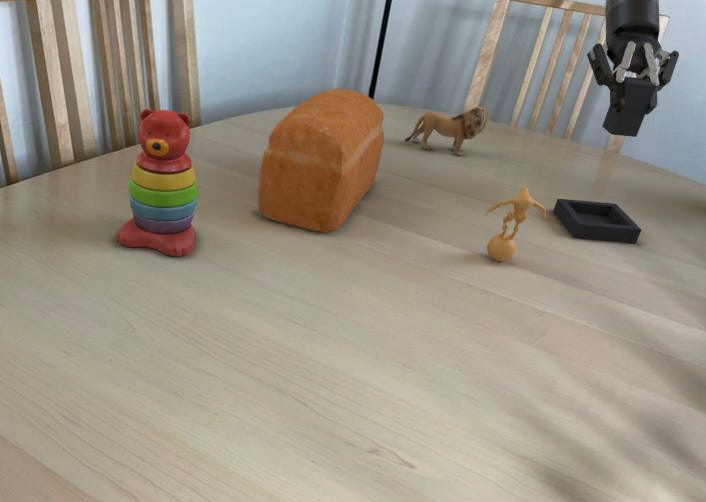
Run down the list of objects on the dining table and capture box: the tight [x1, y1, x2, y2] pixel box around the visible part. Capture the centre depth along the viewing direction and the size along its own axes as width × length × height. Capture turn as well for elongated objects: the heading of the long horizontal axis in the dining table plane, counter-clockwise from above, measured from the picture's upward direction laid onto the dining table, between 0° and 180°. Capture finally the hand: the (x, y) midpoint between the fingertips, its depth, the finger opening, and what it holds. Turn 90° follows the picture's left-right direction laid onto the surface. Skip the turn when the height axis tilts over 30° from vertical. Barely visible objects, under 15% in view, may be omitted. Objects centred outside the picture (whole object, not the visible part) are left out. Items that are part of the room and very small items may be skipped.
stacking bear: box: [115, 108, 199, 257], centre depth 101 cm, size 11×10×18 cm
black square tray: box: [552, 198, 642, 244], centre depth 121 cm, size 10×10×2 cm
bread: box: [257, 88, 385, 233], centre depth 118 cm, size 14×26×16 cm, turn 157°
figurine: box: [484, 187, 547, 262], centre depth 105 cm, size 8×6×12 cm
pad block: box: [601, 76, 656, 138], centre depth 117 cm, size 4×4×8 cm
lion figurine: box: [403, 106, 490, 156], centre depth 145 cm, size 15×5×9 cm, turn 79°
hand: (633, 110), depth 115 cm, fingers closed on pad block, 4 cm apart
